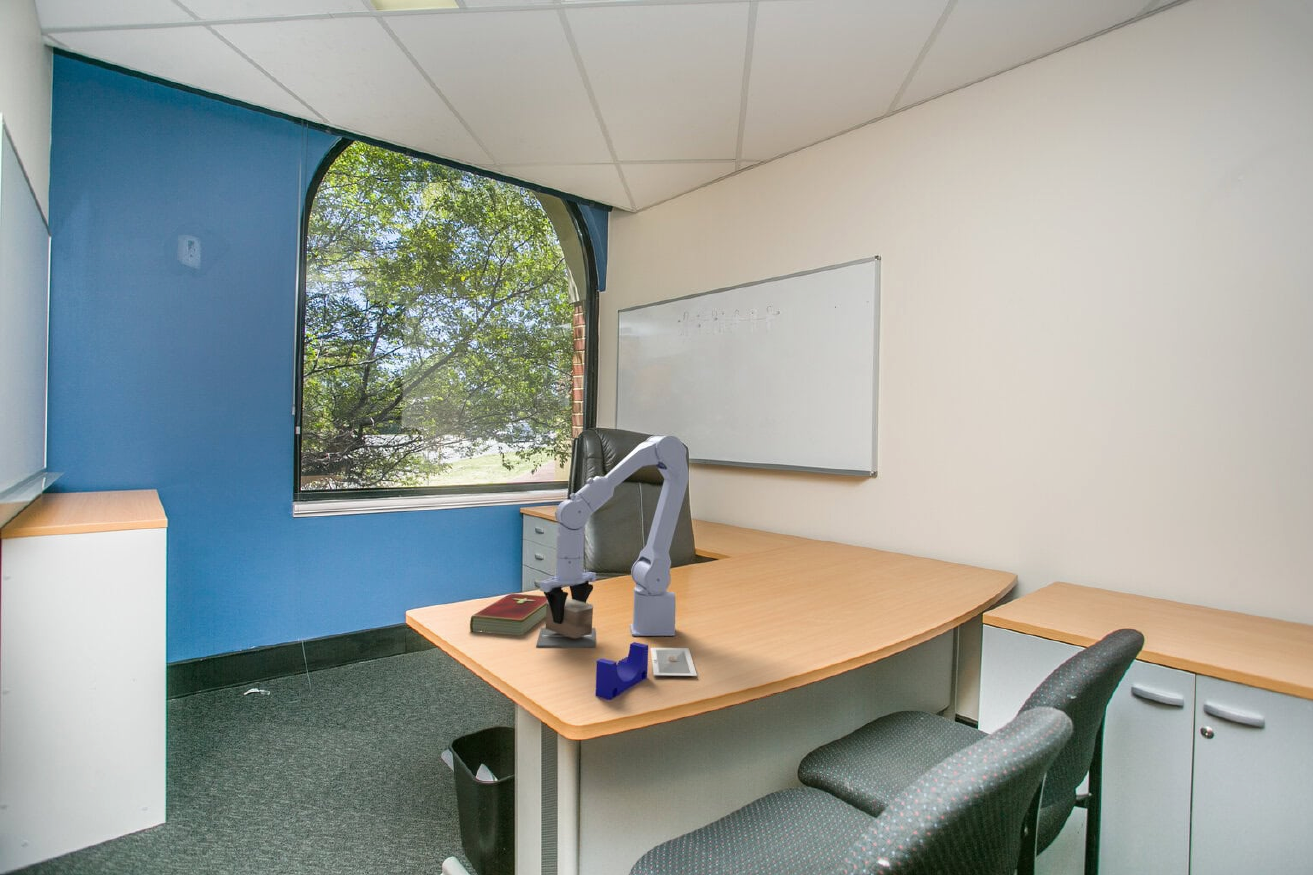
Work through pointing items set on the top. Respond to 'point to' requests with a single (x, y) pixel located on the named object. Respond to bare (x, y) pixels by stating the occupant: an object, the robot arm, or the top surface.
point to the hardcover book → (510, 614)
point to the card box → (572, 619)
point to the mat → (564, 639)
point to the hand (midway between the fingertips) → (567, 620)
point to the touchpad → (672, 662)
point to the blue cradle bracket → (621, 672)
